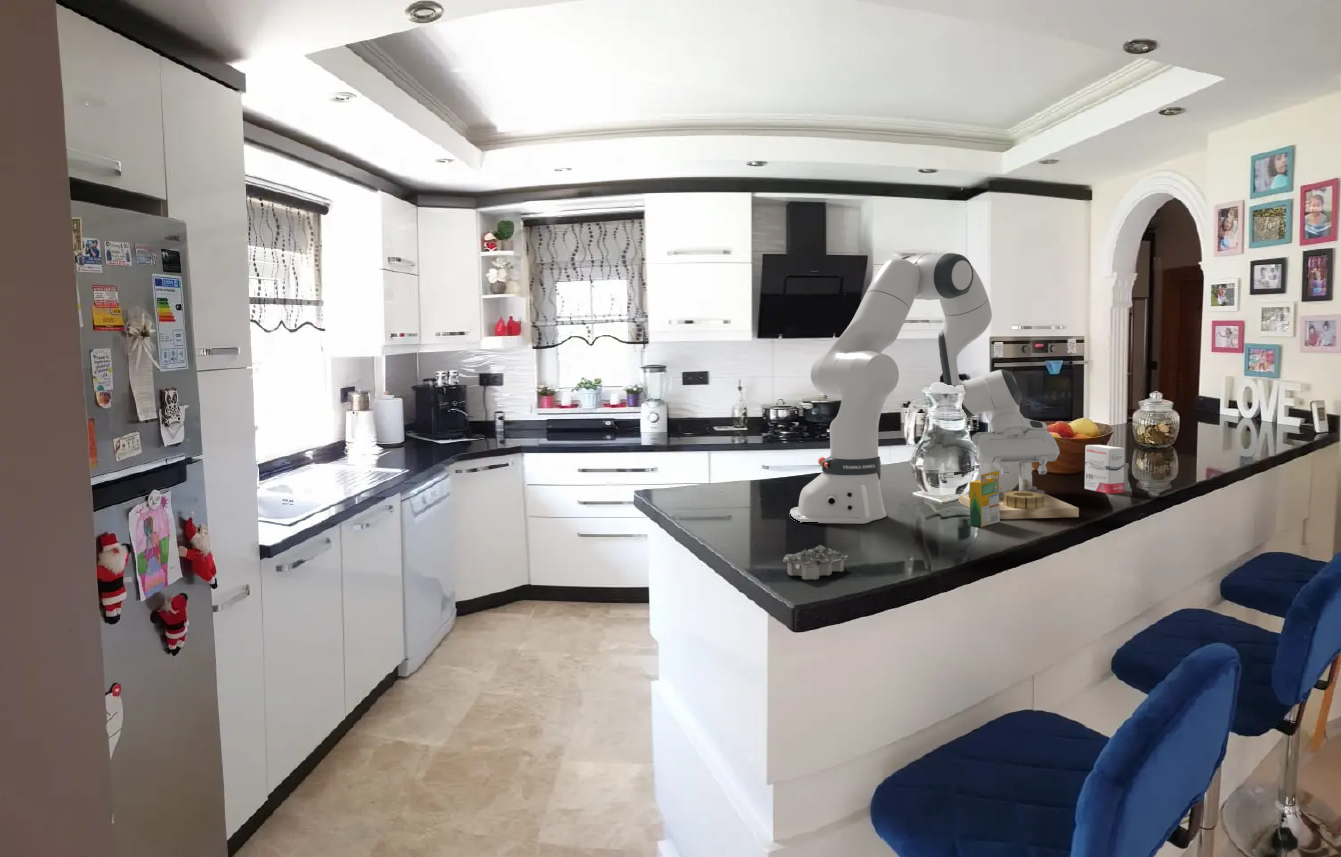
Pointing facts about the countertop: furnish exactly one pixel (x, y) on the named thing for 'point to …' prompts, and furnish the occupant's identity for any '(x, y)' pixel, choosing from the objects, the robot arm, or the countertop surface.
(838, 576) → the countertop surface
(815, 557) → the egg carton
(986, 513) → the crayon box
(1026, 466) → the input shaft
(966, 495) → the gear board
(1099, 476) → the ink box
